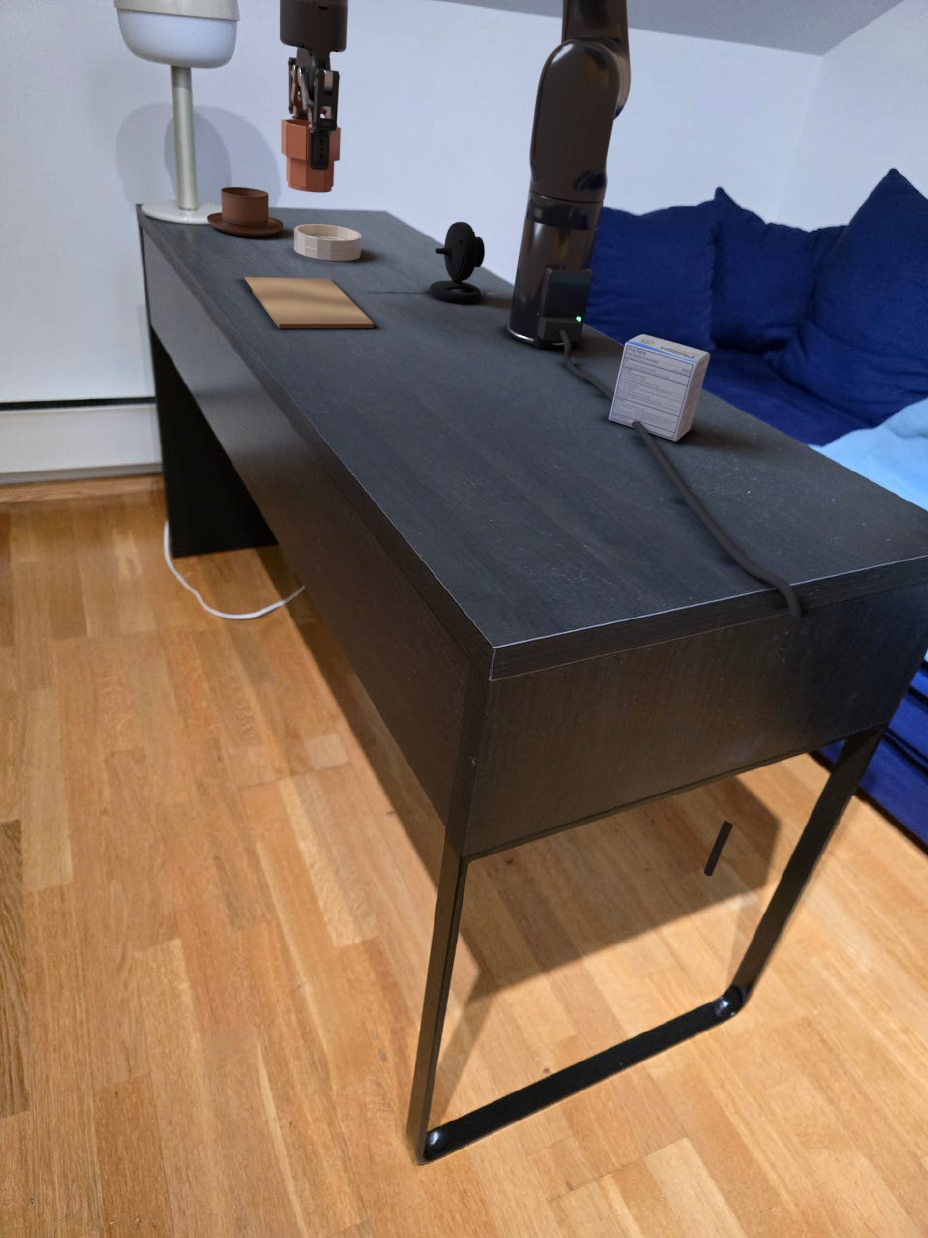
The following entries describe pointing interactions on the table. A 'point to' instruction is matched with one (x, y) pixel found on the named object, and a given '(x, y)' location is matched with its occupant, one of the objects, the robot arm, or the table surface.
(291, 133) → the terracotta plant pot
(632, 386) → the medicine box
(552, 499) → the table surface
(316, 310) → the oak mat
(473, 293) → the webcam
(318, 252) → the cream bowl
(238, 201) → the cup and saucer
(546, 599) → the table surface
